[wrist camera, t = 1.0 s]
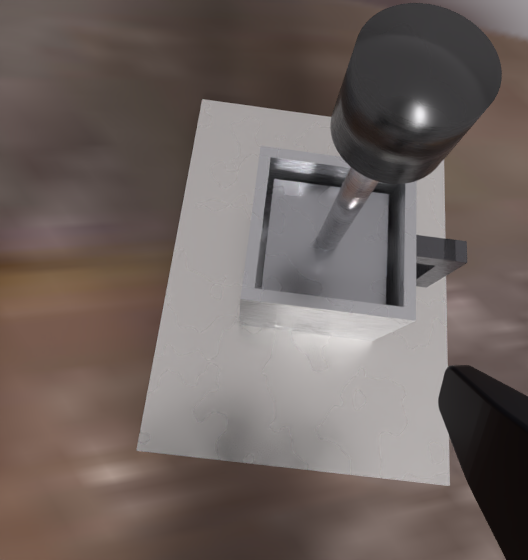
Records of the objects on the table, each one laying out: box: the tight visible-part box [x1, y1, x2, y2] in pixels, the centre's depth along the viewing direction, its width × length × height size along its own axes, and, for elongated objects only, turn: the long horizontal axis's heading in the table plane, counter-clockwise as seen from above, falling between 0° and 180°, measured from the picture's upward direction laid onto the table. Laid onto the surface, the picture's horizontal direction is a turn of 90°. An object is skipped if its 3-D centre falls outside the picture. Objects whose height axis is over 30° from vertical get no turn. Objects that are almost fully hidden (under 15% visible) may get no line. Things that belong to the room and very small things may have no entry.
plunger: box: [261, 3, 502, 305], centre depth 14 cm, size 5×5×11 cm
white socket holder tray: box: [137, 99, 467, 486], centre depth 20 cm, size 20×15×6 cm
